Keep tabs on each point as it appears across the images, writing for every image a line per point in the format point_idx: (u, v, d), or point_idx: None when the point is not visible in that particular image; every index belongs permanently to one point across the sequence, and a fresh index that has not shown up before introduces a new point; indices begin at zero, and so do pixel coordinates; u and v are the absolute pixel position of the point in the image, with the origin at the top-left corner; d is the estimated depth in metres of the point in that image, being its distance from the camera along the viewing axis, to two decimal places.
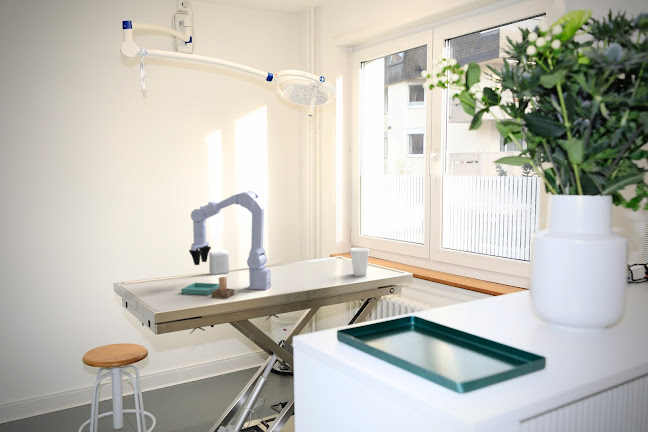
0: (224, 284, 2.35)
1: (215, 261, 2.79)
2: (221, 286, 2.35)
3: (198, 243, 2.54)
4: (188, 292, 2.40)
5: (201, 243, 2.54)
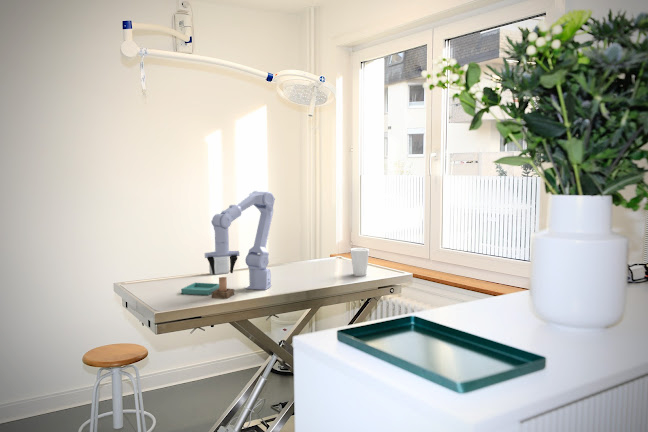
0: (224, 284, 2.35)
1: (215, 261, 2.79)
2: (221, 286, 2.35)
3: (215, 251, 2.33)
4: (188, 292, 2.40)
5: (217, 251, 2.32)
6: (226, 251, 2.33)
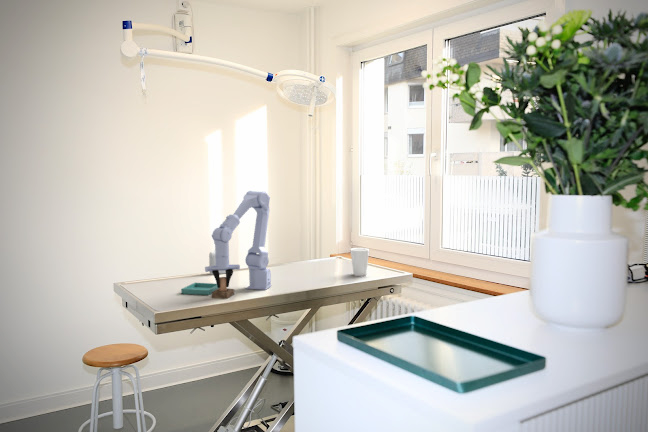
0: (224, 284, 2.35)
1: (215, 261, 2.79)
2: (221, 286, 2.35)
3: (216, 265, 2.34)
4: (188, 292, 2.40)
5: (217, 265, 2.33)
6: (226, 265, 2.34)
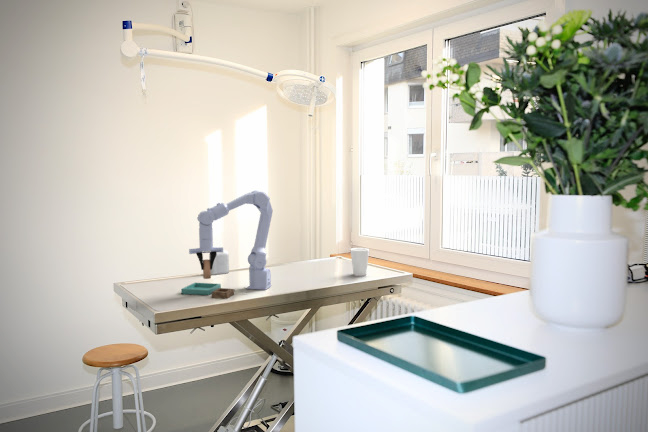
0: (208, 266, 2.40)
1: (215, 261, 2.79)
2: (205, 268, 2.40)
3: None
4: (188, 292, 2.40)
5: (201, 248, 2.39)
6: (210, 247, 2.39)
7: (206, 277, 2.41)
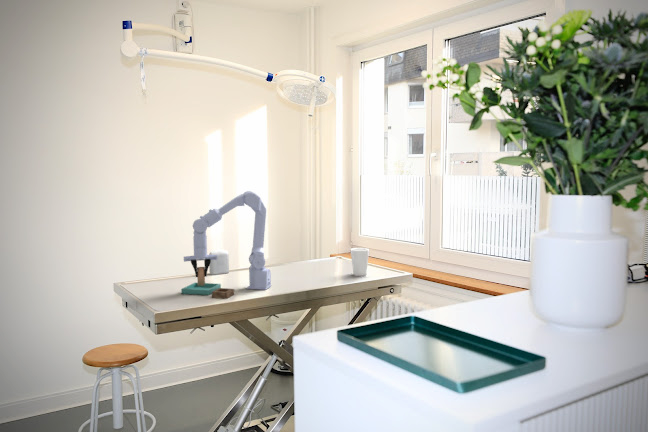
0: (202, 273, 2.43)
1: (215, 261, 2.79)
2: (199, 275, 2.43)
3: (194, 255, 2.43)
4: (188, 292, 2.40)
5: (195, 255, 2.42)
6: (204, 255, 2.42)
7: (200, 284, 2.44)
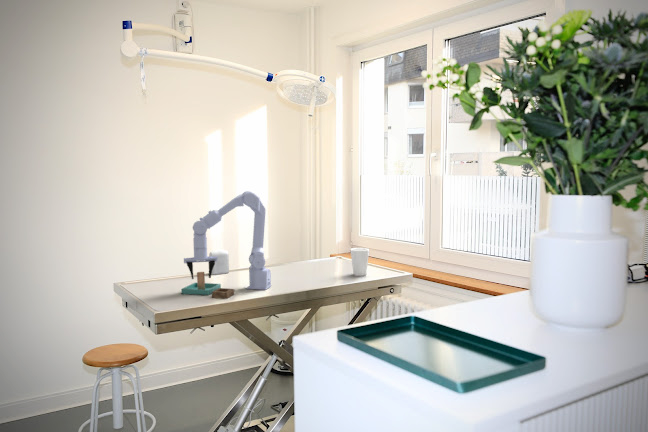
0: (202, 278, 2.44)
1: None
2: (199, 280, 2.44)
3: (194, 256, 2.43)
4: (188, 292, 2.40)
5: (195, 257, 2.42)
6: (204, 257, 2.42)
7: (200, 289, 2.44)
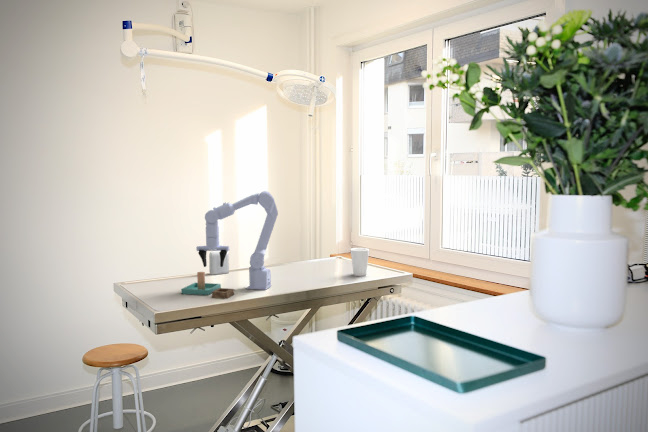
0: (202, 278, 2.44)
1: (215, 261, 2.79)
2: (199, 280, 2.43)
3: (206, 245, 2.48)
4: (188, 292, 2.40)
5: (206, 245, 2.46)
6: (214, 245, 2.46)
7: (200, 289, 2.44)
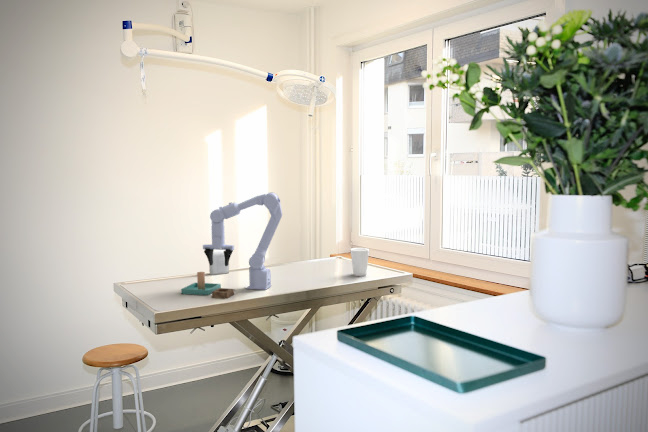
0: (202, 278, 2.44)
1: (215, 261, 2.79)
2: (199, 280, 2.43)
3: None
4: (188, 292, 2.40)
5: (212, 244, 2.49)
6: (219, 244, 2.47)
7: (200, 289, 2.44)
